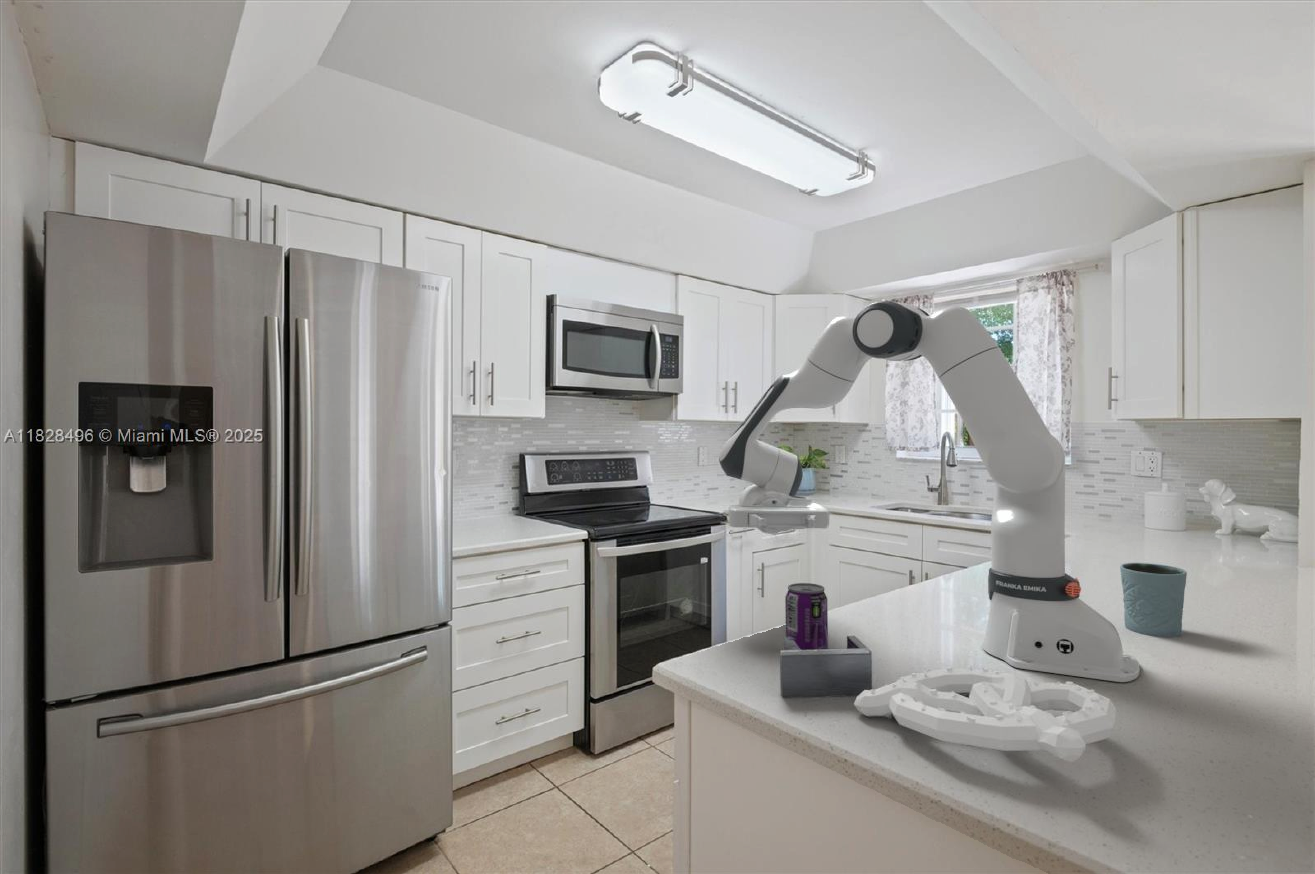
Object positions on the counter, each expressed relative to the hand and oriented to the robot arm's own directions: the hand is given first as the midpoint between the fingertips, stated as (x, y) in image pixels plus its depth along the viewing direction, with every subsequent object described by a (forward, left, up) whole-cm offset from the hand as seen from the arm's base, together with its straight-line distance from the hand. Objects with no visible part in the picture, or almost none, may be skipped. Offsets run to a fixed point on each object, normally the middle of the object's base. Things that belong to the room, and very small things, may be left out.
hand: (787, 523), depth 121 cm
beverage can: (-8, +9, -22) cm, 24 cm away
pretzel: (-38, +21, -22) cm, 48 cm away
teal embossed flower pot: (-55, -43, -22) cm, 73 cm away
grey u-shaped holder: (-15, +19, -21) cm, 32 cm away
